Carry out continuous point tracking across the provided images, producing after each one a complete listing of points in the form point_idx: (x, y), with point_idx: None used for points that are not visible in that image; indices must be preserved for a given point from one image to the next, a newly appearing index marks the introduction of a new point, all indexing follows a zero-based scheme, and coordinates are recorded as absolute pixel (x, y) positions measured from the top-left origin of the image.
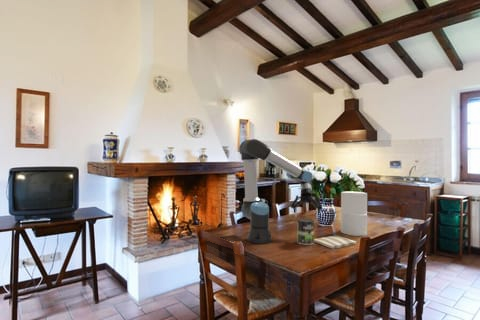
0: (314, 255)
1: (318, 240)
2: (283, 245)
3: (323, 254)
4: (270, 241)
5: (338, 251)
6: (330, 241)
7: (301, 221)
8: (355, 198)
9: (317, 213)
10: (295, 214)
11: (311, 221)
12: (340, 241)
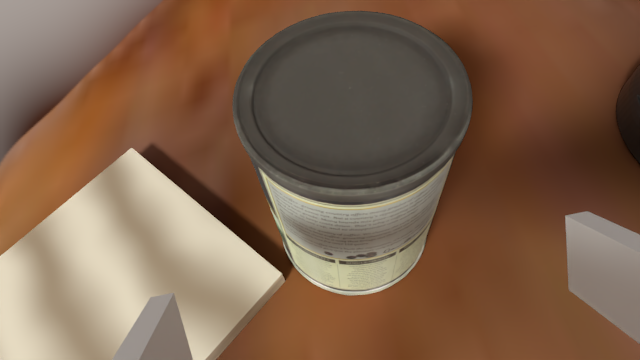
0: (258, 21)
1: (236, 251)
2: (485, 97)
3: (209, 50)
4: (619, 125)
5: (110, 126)
6: (129, 262)
7: (381, 13)
8: None
9: (134, 336)
10: (603, 218)
11: (262, 59)
12: (35, 301)
